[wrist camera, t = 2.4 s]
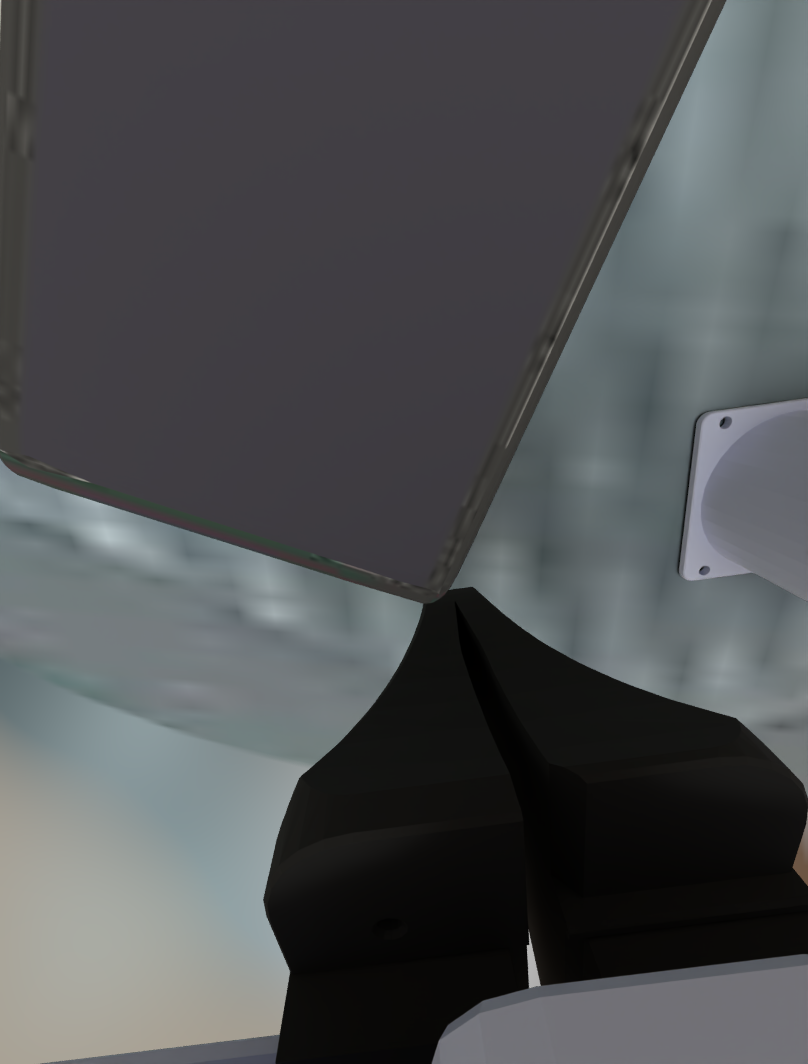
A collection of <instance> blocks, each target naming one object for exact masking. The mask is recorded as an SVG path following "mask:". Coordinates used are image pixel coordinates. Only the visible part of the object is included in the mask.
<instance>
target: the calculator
mask: <svg viewBox="0 0 808 1064" xmlns="http://www.w3.org/2000/svg"><path fill="white" fill-rule="evenodd" d="M725 2H726V0H0V459H1V460H2V461H3V463H4V464H5V465H6V466H7V467H8V468H9V469H10V470H11V471H13V472H14V473H16V474H17V475H19V476H22V477H25V478H27V479H30V480H33V481H36V482H38V483H41V484H44V485H47V486H49V487H52V488H55V489H58V490H61V491H65V492H68V493H71V494H74V495H77V496H80V497H84V498H87V499H90V500H93V501H96V502H99V503H103V504H106V505H109V506H112V507H115V508H118V509H122V510H125V511H128V512H131V513H134V514H137V515H141V516H144V517H147V518H150V519H153V520H156V521H160V522H163V523H166V524H169V525H172V526H175V527H179V528H182V529H185V530H188V531H191V532H194V533H198V534H201V535H204V536H207V537H210V538H213V539H216V540H220V541H223V542H226V543H229V544H232V545H235V546H239V547H242V548H245V549H248V550H251V551H254V552H258V553H261V554H264V555H267V556H270V557H273V558H277V559H280V560H283V561H286V562H289V563H292V564H296V565H299V566H302V567H305V568H308V569H311V570H315V571H318V572H321V573H324V574H327V575H330V576H334V577H337V578H340V579H343V580H346V581H349V582H353V583H356V584H359V585H363V586H366V587H369V588H373V589H376V590H379V591H383V592H386V593H389V594H393V595H396V596H400V597H403V598H406V599H410V600H413V601H416V602H420V603H423V604H425V603H433V602H435V601H437V600H438V599H440V598H441V597H442V596H444V595H445V594H446V592H447V591H448V590H449V588H450V587H451V585H452V584H453V582H454V580H455V578H456V576H457V575H458V573H459V571H460V568H461V566H462V564H463V562H464V560H465V558H466V556H467V554H468V552H469V550H470V547H471V545H472V543H473V541H474V539H475V537H476V535H477V533H478V530H479V528H480V526H481V524H482V522H483V520H484V518H485V516H486V513H487V511H488V509H489V507H490V505H491V503H492V501H493V498H494V496H495V494H496V492H497V490H498V488H499V486H500V483H501V481H502V479H503V477H504V475H505V473H506V471H507V468H508V466H509V464H510V462H511V460H512V458H513V456H514V453H515V451H516V449H517V447H518V445H519V443H520V441H521V439H522V436H523V434H524V432H525V430H526V428H527V426H528V424H529V421H530V419H531V417H532V415H533V413H534V411H535V409H536V406H537V404H538V402H539V400H540V398H541V396H542V394H543V391H544V389H545V387H546V385H547V383H548V381H549V379H550V376H551V374H552V372H553V370H554V368H555V366H556V364H557V362H558V359H559V357H560V355H561V353H562V351H563V349H564V347H565V344H566V342H567V340H568V338H569V336H570V334H571V332H572V329H573V327H574V325H575V323H576V321H577V319H578V317H579V314H580V312H581V310H582V308H583V306H584V304H585V302H586V299H587V297H588V295H589V293H590V291H591V289H592V287H593V285H594V282H595V280H596V278H597V276H598V274H599V272H600V270H601V267H602V265H603V263H604V261H605V259H606V257H607V255H608V252H609V250H610V248H611V246H612V244H613V242H614V240H615V237H616V235H617V233H618V231H619V229H620V227H621V225H622V222H623V220H624V218H625V216H626V214H627V212H628V210H629V208H630V205H631V203H632V201H633V199H634V197H635V195H636V193H637V190H638V188H639V186H640V184H641V182H642V180H643V178H644V175H645V173H646V171H647V169H648V167H649V165H650V163H651V160H652V158H653V156H654V154H655V152H656V150H657V148H658V145H659V143H660V141H661V139H662V137H663V135H664V133H665V131H666V128H667V126H668V124H669V122H670V120H671V118H672V116H673V113H674V111H675V109H676V107H677V105H678V103H679V101H680V98H681V96H682V94H683V92H684V90H685V88H686V86H687V83H688V81H689V79H690V77H691V75H692V73H693V71H694V68H695V66H696V64H697V62H698V60H699V58H700V56H701V54H702V51H703V49H704V47H705V45H706V43H707V41H708V39H709V36H710V34H711V32H712V30H713V28H714V26H715V24H716V21H717V19H718V17H719V15H720V13H721V11H722V9H723V6H724V4H725Z"/></svg>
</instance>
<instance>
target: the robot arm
mask: <svg viewBox="0 0 808 1064" xmlns="http://www.w3.org/2000/svg"><path fill="white" fill-rule="evenodd" d="M723 417H724V418H725V422H724V424H723V425H722V426H721V427H720V424H719V423H720V421H721V419H722V418H723ZM703 566H704V568H703V569H702V570H701V571H699V570H700V568H701V567H703ZM746 573H755V574H757V575H759V576H761V577H762V578H764V579H766V580H768V581H770V582H772V583H774V584H775V585H777V586H779V587H781V588H783V589H785V590H787V591H788V592H790V593H792V594H794V595H796V596H798V597H800V598H801V599H803V600H805V601H807V602H808V398H803V399H796V400H789V401H781V402H774V403H767V404H760V405H753V406H746V407H738V408H731V409H724V410H717V411H710V412H707V413H704V414H703V415H702V416H701V417H700V418H699V419H698V421H697V424H696V432H695V440H694V449H693V457H692V465H691V474H690V482H689V491H688V499H687V507H686V516H685V524H684V533H683V541H682V549H681V558H680V566H679V574H680V575H681V576H682V577H683V578H685V579H686V580H688V581H694V580H701V579H709V578H716V577H724V576H731V575H739V574H746ZM807 812H808V798H807V794H806V791H805V788H804V785H803V783H802V782H801V781H800V780H799V779H798V778H797V777H796V776H795V775H794V774H793V773H792V772H791V770H790V769H789V768H788V767H787V766H786V765H785V764H784V763H783V762H782V761H781V760H780V759H779V758H778V757H777V756H776V755H775V754H774V753H773V752H772V751H771V750H770V749H769V748H768V747H767V746H766V745H765V744H764V743H763V742H762V741H761V740H759V739H758V738H757V737H756V736H755V735H754V734H753V733H752V732H751V731H750V730H749V729H748V728H746V727H745V726H744V725H743V724H742V723H741V722H739V721H738V720H737V719H736V718H733V717H730V716H726V715H723V714H719V713H716V712H712V711H709V710H705V709H702V708H698V707H695V706H691V705H688V704H684V703H681V702H677V701H674V700H671V699H667V698H665V697H662V696H659V695H656V694H653V693H650V692H648V691H645V690H642V689H639V688H636V687H634V686H631V685H629V684H626V683H624V682H621V681H618V680H616V679H614V678H611V677H609V676H607V675H605V674H602V673H600V672H598V671H596V670H593V669H591V668H589V667H587V666H585V665H583V664H581V663H579V662H577V661H575V660H573V659H571V658H569V657H567V656H566V655H564V654H562V653H560V652H558V651H557V650H555V649H553V648H551V647H549V646H548V645H546V644H545V643H543V642H541V641H540V640H538V639H537V638H535V637H534V636H532V635H531V634H529V633H528V632H526V631H525V630H524V629H522V628H521V627H519V626H518V625H517V624H516V623H514V622H513V621H512V620H511V619H509V618H508V617H507V616H505V615H504V614H503V613H502V612H501V611H499V610H498V609H497V608H496V607H495V606H494V605H492V604H491V603H490V602H489V601H488V600H487V599H486V598H485V597H484V596H482V595H481V594H480V593H479V592H478V591H477V590H476V589H475V588H473V587H467V588H460V589H453V590H448V591H447V592H446V594H445V595H444V596H442V597H441V598H440V599H438V600H437V601H435V602H433V603H425V604H423V609H422V613H421V617H420V620H419V623H418V625H417V628H416V631H415V634H414V636H413V639H412V641H411V643H410V645H409V647H408V649H407V652H406V654H405V656H404V658H403V660H402V662H401V663H400V665H399V667H398V669H397V670H396V672H395V674H394V675H393V677H392V679H391V680H390V682H389V683H388V685H387V686H386V688H385V689H384V690H383V692H382V693H381V695H380V696H379V697H378V699H377V700H376V702H375V703H374V704H373V705H372V707H371V708H370V709H369V711H368V712H367V713H366V714H365V715H364V716H363V718H362V719H361V720H360V721H359V722H358V723H357V724H356V725H355V726H354V727H353V729H352V730H351V731H350V732H349V733H348V734H347V735H346V736H345V737H344V738H343V739H342V740H341V741H340V742H339V743H338V744H337V745H336V746H335V747H334V748H333V749H332V750H331V751H329V752H328V753H327V754H326V755H325V756H324V757H323V758H322V759H320V760H319V761H318V762H317V763H316V764H315V765H314V766H312V767H311V768H310V769H309V770H308V771H307V772H305V773H304V774H303V775H302V776H301V777H300V778H299V780H298V783H297V785H296V788H295V790H294V792H293V795H292V797H291V800H290V802H289V805H288V808H287V811H286V814H285V816H284V819H283V821H282V825H281V827H280V831H279V834H278V837H277V841H276V845H275V850H274V855H273V859H272V863H271V868H270V872H269V876H268V881H267V885H266V890H265V894H264V899H263V901H264V906H265V911H266V915H267V918H268V921H269V923H270V925H271V928H272V930H273V932H274V935H275V937H276V939H277V942H278V944H279V946H280V949H281V951H282V953H283V956H284V958H285V960H286V963H287V965H288V967H289V970H290V976H289V982H288V988H287V995H286V1000H285V1006H284V1012H283V1018H282V1024H281V1031H280V1035H274V1036H267V1037H258V1038H250V1039H241V1040H233V1041H224V1042H216V1043H208V1044H200V1045H191V1046H183V1047H176V1048H167V1049H158V1050H150V1051H142V1052H133V1053H125V1054H117V1055H109V1056H101V1057H92V1058H84V1059H76V1060H68V1061H59V1062H51V1063H42V1064H808V886H807V885H806V884H805V883H804V881H803V880H802V879H801V877H800V876H799V875H798V874H797V873H796V871H795V870H794V869H793V868H792V867H793V864H794V860H795V857H796V854H797V851H798V848H799V845H800V842H801V839H802V835H803V832H804V829H805V826H806V820H807ZM528 929H529V931H528ZM528 932H529V933H530V938H531V943H532V947H533V952H534V956H535V961H536V965H537V970H538V975H539V979H540V984H541V986H536V987H533V988H529V982H528V981H529V980H528V960H527V945H529V933H528Z"/></svg>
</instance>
